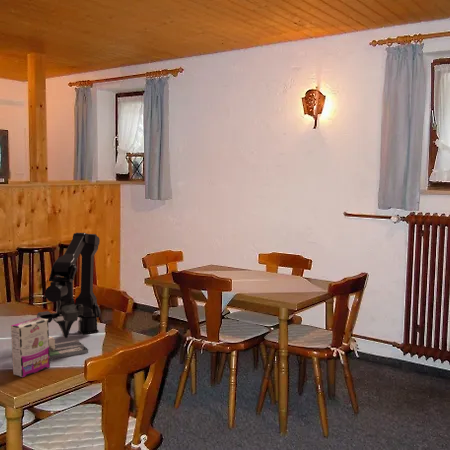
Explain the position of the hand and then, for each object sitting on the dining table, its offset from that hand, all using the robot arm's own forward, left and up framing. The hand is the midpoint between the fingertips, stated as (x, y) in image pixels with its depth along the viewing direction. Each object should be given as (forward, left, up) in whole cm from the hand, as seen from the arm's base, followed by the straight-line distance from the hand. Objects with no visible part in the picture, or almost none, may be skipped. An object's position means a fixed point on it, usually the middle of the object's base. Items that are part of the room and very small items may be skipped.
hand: (65, 337), depth 196 cm
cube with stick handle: (+6, +2, -3) cm, 7 cm away
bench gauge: (+3, 0, -5) cm, 6 cm away
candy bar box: (+15, +14, -5) cm, 21 cm away
